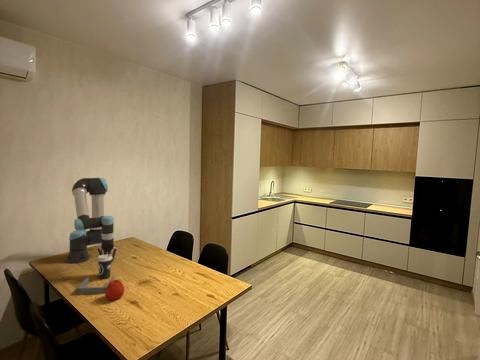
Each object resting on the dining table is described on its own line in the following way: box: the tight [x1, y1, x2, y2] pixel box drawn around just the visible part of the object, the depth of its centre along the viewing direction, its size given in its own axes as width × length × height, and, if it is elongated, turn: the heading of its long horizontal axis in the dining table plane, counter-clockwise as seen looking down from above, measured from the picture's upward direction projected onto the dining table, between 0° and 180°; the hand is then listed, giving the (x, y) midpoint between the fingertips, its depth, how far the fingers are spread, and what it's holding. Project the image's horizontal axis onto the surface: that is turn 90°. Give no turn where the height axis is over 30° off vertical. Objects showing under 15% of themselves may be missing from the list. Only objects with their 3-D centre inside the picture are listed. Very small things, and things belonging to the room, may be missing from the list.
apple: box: [104, 279, 125, 301], centre depth 154 cm, size 10×10×10 cm
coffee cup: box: [96, 253, 113, 280], centre depth 178 cm, size 10×10×15 cm
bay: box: [76, 276, 115, 295], centre depth 164 cm, size 14×16×4 cm
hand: (107, 271), depth 184 cm, fingers closed
